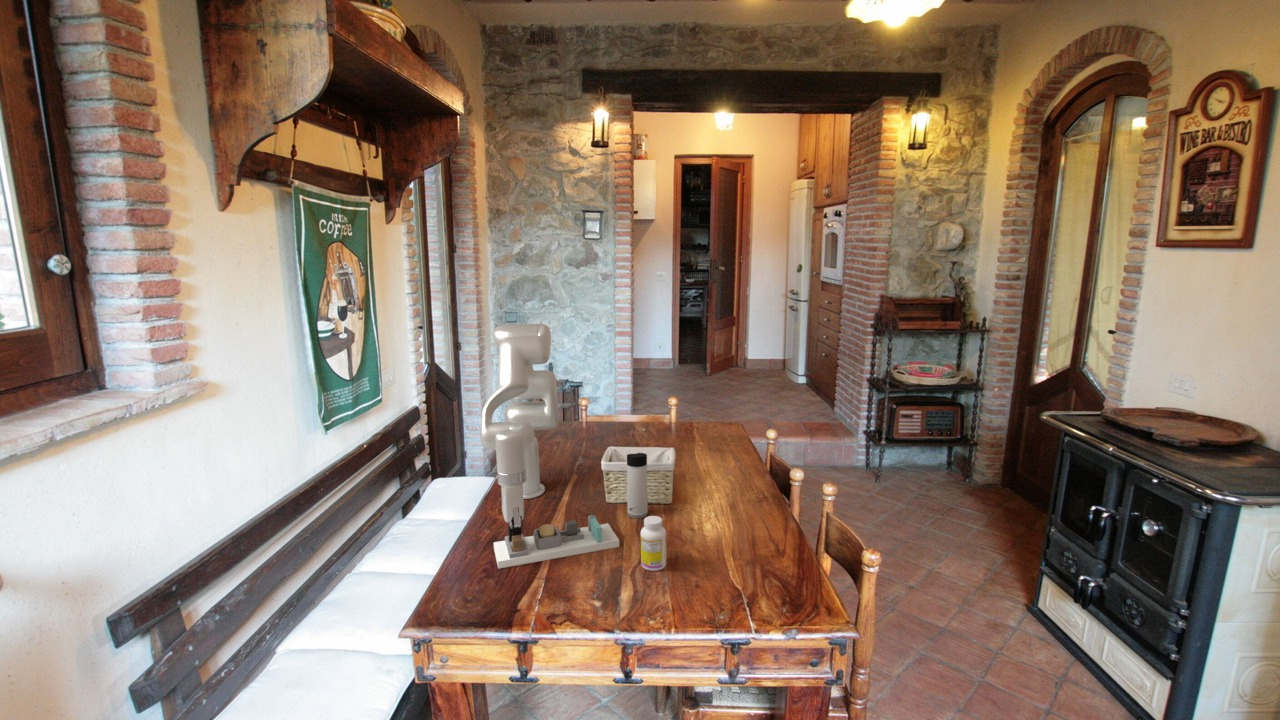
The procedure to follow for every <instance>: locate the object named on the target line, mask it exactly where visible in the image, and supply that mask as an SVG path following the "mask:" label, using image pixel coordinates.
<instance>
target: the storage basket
mask: <svg viewBox="0 0 1280 720" xmlns="http://www.w3.org/2000/svg"><path fill="white" fill-rule="evenodd" d="M637 453H645V454H647V505H648V504H649V505H650V504H671V503H672V501H673V492H674V491H673V490H674V489H673V487H674V485H673V482H674V472H675V470H674V469H675V464H676V459H677V458H676V456H677V455H676V450H675V448H674V447H660V446H657V447H656V446H655V447H654V446H653V447H652V446H651V447H649V446H647V447H646V446H645V447H644V446H642V447H641V446H639V447H638V446H612V445H611V446H608V447H607V448H606V450H605V451H604V454H603V456H602V458H601V461H600V462H601V463H600V464H601V470H602V472H603V473H602V474H603V485H604V492H605V501H606V503H610V504H627V455H628V454H637Z"/></svg>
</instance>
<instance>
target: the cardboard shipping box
mask: <svg viewBox="0 0 1280 720" xmlns="http://www.w3.org/2000/svg"><path fill="white" fill-rule="evenodd" d="M512 550H513V552H517V551H523V543H522V537H521V535H516V536H512Z"/></svg>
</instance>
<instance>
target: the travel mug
mask: <svg viewBox="0 0 1280 720" xmlns="http://www.w3.org/2000/svg"><path fill="white" fill-rule="evenodd" d="M626 504H627V516H629V517H630V518H632V519H643V518H646V517H648V513H649V512H648V507H649V506H648V504H647V454H645V453H637V454H628V455H627V503H626Z"/></svg>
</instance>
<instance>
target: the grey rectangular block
mask: <svg viewBox="0 0 1280 720" xmlns="http://www.w3.org/2000/svg"><path fill="white" fill-rule="evenodd" d="M577 528H578V522H577V521H576V519H572V520H568V521H564V530H565V535H566V537H567V536H573V535H578V530H577Z"/></svg>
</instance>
